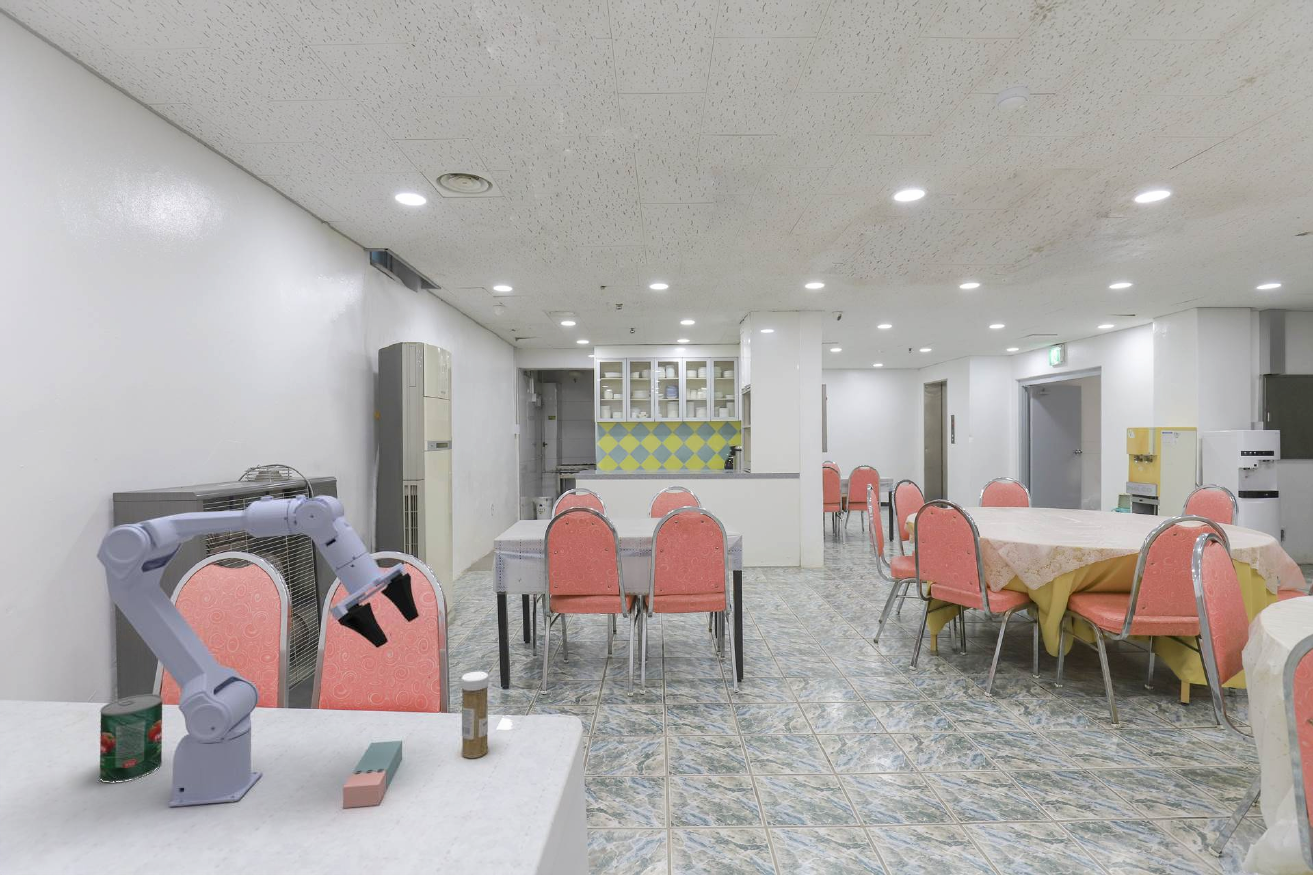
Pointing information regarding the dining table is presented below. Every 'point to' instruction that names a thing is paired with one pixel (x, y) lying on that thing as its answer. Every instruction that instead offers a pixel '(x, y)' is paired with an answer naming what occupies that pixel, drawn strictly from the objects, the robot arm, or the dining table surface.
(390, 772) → the teal elongated prism
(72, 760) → the dining table surface
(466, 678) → the sprinkles bottle
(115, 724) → the canned tomato
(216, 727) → the robot arm
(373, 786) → the stub
